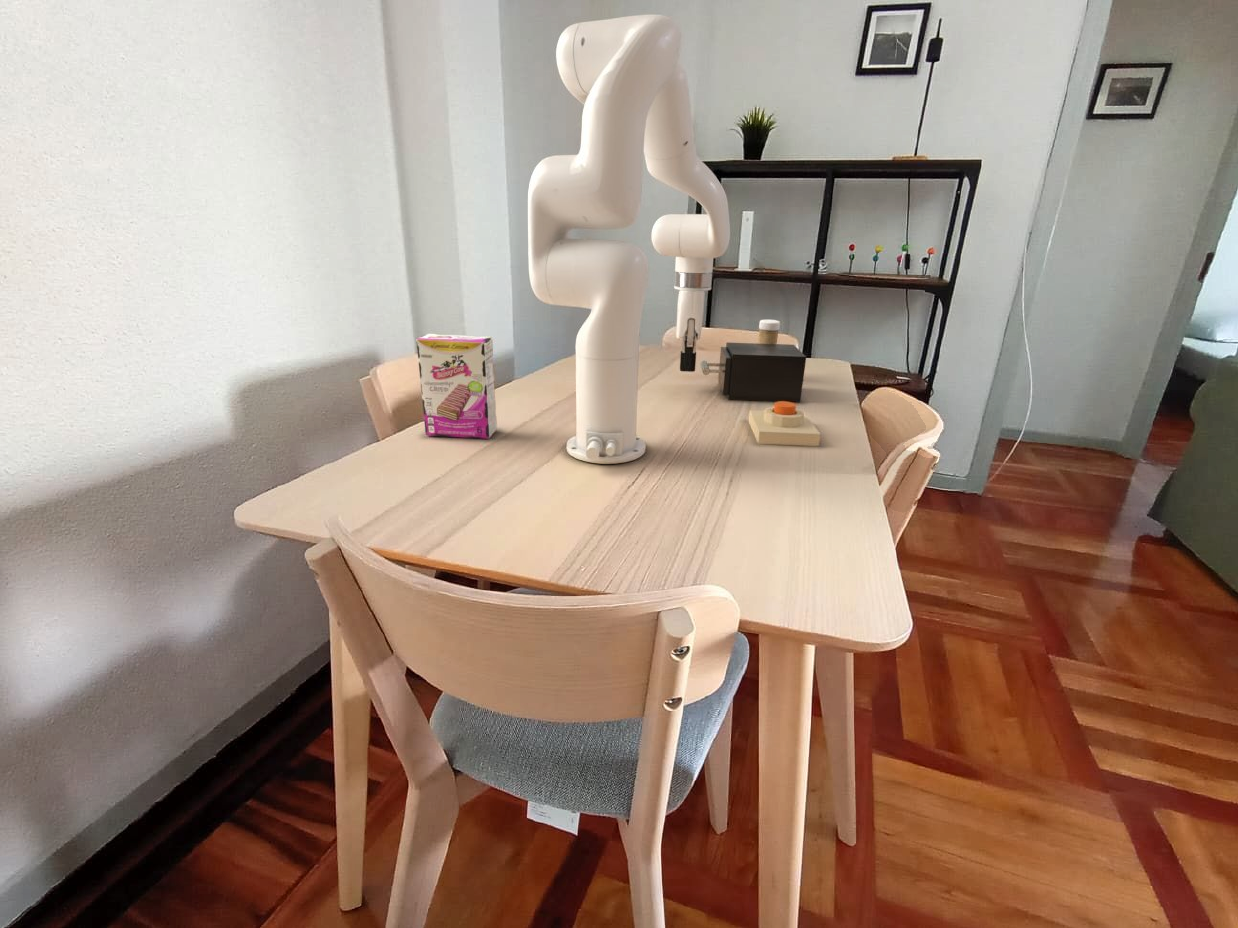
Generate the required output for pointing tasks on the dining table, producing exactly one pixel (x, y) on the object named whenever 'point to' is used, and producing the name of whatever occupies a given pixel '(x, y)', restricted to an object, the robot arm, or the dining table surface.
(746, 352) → the black drawer cabinet
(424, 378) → the candy bar box
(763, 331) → the sprinkles bottle
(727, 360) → the drawer with knob
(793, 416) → the cream button base
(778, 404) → the button
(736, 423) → the dining table surface
